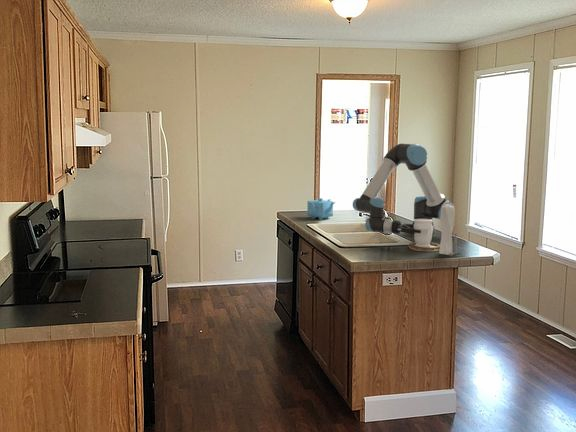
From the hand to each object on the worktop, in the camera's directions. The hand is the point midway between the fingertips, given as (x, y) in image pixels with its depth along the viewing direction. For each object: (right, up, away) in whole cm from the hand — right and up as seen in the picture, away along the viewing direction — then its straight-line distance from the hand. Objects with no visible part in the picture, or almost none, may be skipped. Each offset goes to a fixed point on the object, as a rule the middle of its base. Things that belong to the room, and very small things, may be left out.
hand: (430, 230), depth 334 cm
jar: (-4, -9, +2) cm, 10 cm away
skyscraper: (+6, -13, -10) cm, 17 cm away
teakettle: (-54, +6, +104) cm, 117 cm away
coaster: (-2, -10, +3) cm, 11 cm away
